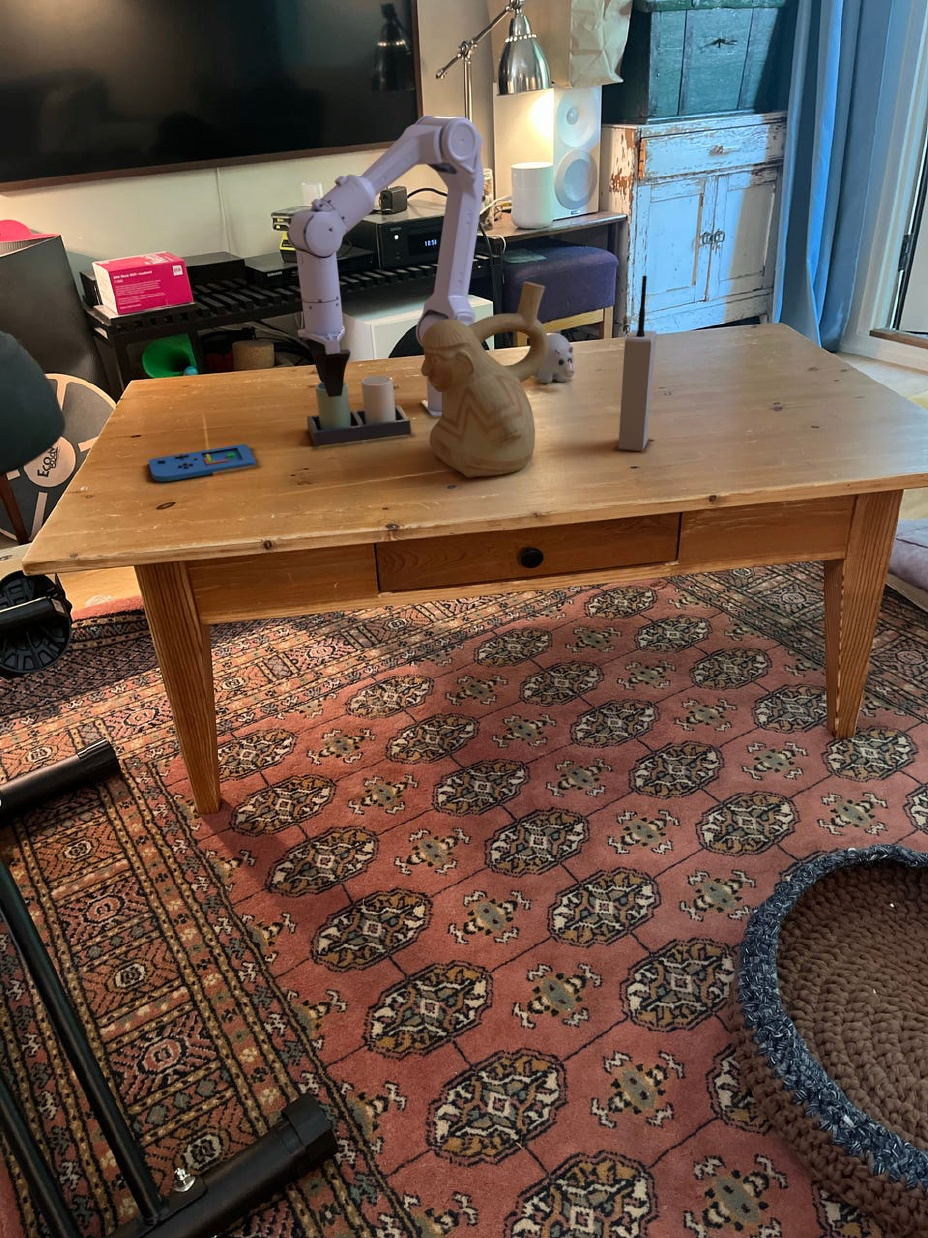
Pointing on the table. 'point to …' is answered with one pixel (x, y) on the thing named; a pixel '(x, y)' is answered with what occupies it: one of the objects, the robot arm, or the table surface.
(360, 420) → the cup holder
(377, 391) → the cream cup
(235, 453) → the handheld gaming device
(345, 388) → the green cup
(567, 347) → the chubby cartoon animal
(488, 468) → the ceramic vessel
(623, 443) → the vintage mobile phone
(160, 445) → the table surface
